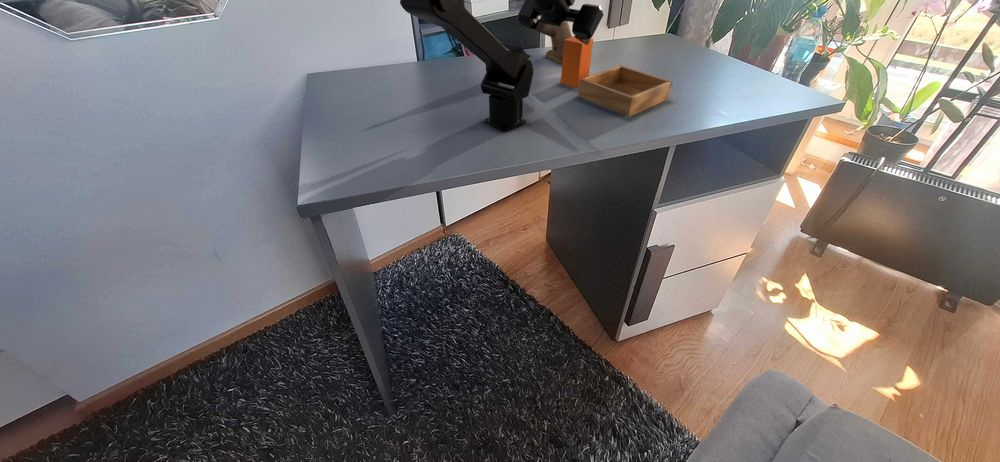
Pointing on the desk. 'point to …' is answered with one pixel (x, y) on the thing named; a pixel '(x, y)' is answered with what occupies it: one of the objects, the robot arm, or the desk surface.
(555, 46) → the worn brown figurine
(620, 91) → the wooden box
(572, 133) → the desk surface
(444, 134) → the desk surface
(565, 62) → the orange square pillar
